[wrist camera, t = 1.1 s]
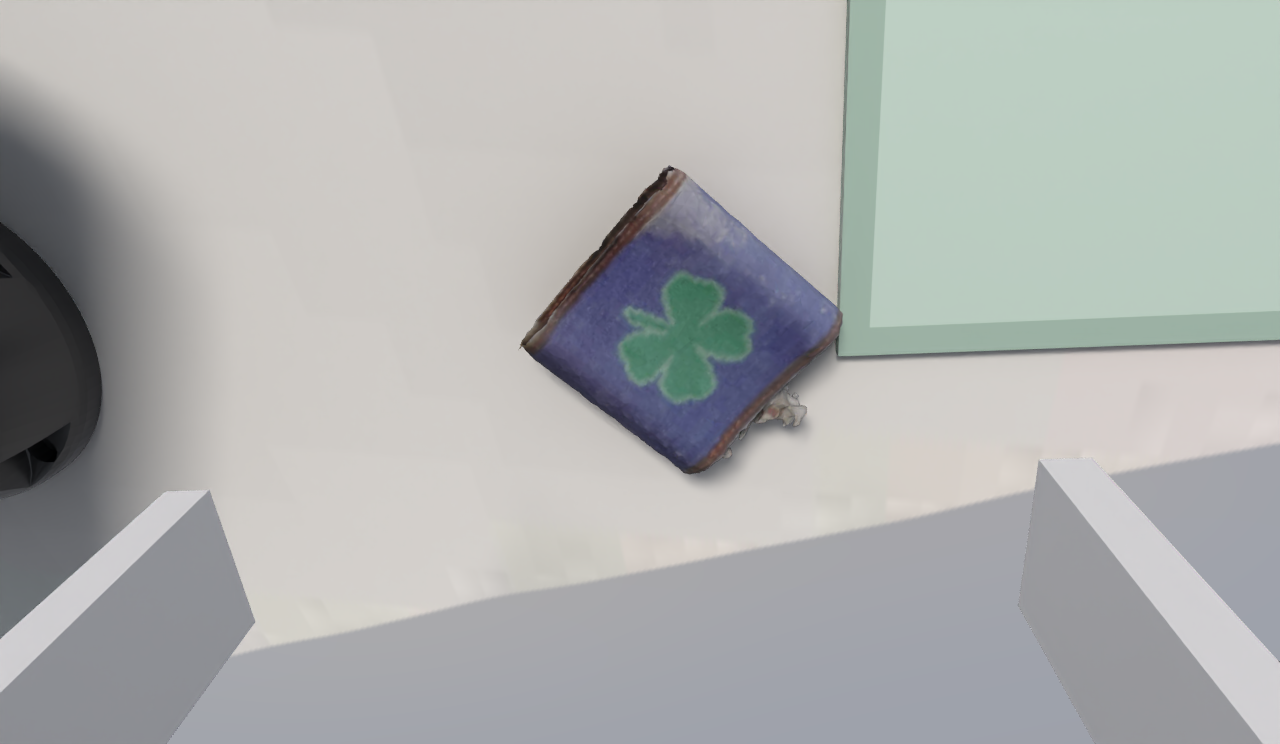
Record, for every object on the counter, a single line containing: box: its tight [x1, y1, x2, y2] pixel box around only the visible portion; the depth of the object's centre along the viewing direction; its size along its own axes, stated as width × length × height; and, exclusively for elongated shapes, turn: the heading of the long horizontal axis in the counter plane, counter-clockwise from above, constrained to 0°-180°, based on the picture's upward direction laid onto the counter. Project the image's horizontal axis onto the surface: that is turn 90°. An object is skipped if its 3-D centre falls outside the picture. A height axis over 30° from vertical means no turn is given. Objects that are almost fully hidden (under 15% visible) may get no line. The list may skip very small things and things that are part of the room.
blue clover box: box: [519, 165, 843, 474], centre depth 31 cm, size 9×3×11 cm
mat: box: [836, 0, 1280, 356], centre depth 28 cm, size 18×18×1 cm
